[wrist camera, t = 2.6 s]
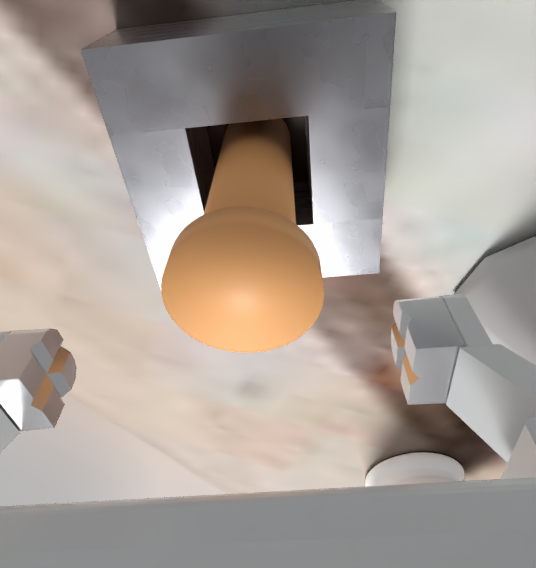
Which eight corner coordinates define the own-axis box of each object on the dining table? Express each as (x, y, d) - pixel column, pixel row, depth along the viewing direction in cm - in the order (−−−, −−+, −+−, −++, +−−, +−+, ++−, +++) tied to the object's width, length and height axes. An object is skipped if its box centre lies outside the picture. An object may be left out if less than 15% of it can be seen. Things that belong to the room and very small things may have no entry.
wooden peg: (300, 87, 18) (321, 220, 10) (305, 179, 21) (325, 348, 12) (202, 98, 19) (140, 235, 10) (220, 187, 21) (181, 356, 13)
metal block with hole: (373, -3, 16) (396, 12, 13) (364, 226, 23) (378, 273, 19) (116, 29, 17) (80, 49, 14) (176, 241, 23) (160, 289, 20)
